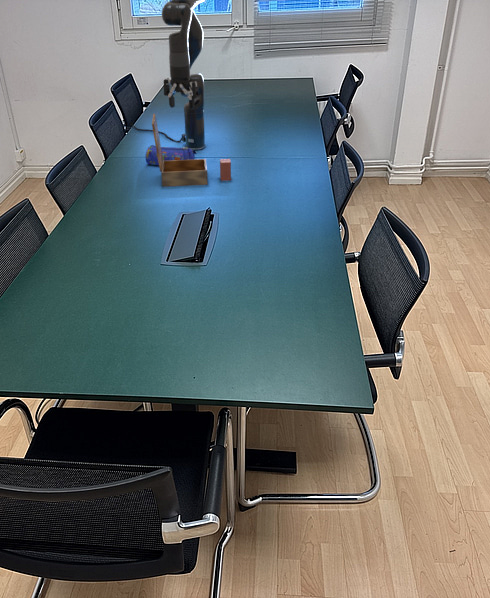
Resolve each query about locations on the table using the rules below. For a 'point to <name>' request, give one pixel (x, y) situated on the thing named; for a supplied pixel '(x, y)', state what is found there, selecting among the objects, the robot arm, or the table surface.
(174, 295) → the table surface
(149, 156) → the pencil case
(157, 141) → the lid
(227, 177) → the block
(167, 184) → the chest
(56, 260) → the table surface
